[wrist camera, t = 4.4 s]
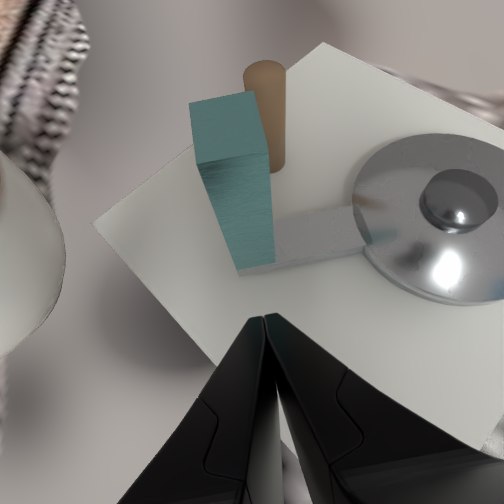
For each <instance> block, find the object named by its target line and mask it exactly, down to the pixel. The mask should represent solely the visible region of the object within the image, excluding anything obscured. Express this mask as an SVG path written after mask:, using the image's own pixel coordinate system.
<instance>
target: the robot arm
mask: <svg viewBox="0 0 504 504" xmlns="http://www.w3.org/2000/svg"><path fill="white" fill-rule="evenodd" d="M277 390H278V393H277ZM278 395H279V399H280V402H281V406H282V409H283V412H284V415H285V418H286V421H287V424H288V428H289V431H290V434H291V437H292V440H293V443H294V446H295V450H296V453H297V456H298V459H299V462H300V465H301V468H302V472H303V475H304V478H305V481H306V484H307V487H308V490H309V494H310V497H311V500H312V503H313V504H504V460H503V459H499V458H496V457H493V456H491V455H488V454H485V453H483V452H481V451H479V450H477V449H475V448H473V447H471V446H469V445H467V444H465V443H464V442H462V441H460V440H458V439H457V438H455V437H454V436H452V435H450V434H449V433H447V432H445V431H444V430H442V429H440V428H439V427H437V426H436V425H434V424H432V423H431V422H429V421H427V420H426V419H424V418H422V417H421V416H419V415H418V414H416V413H414V412H413V411H411V410H409V409H408V408H406V407H405V406H403V405H401V404H400V403H398V402H397V401H395V400H393V399H392V398H390V397H389V396H387V395H386V394H384V393H383V392H381V391H380V390H378V389H377V388H375V387H374V386H373V385H371V384H370V383H368V382H367V381H366V380H364V379H363V378H362V377H360V376H359V375H358V374H356V373H355V372H354V371H352V370H351V369H349V368H348V367H347V366H346V365H345V364H343V363H342V362H341V361H339V360H338V359H337V358H336V357H334V356H333V355H332V354H330V353H329V352H328V351H327V350H325V349H324V348H323V347H321V346H320V345H319V344H318V343H316V342H315V341H314V340H312V339H311V338H310V337H309V336H307V335H306V334H305V333H303V332H302V331H301V330H300V329H298V328H297V327H296V326H294V325H293V324H292V323H291V322H289V321H288V320H287V319H285V318H284V317H283V316H281V315H280V314H279V313H271V314H266V315H264V318H263V316H256V317H250V318H248V320H247V321H246V323H245V324H244V326H243V327H242V329H241V330H240V332H239V334H238V335H237V337H236V338H235V340H234V341H233V343H232V344H231V346H230V348H229V349H228V351H227V352H226V354H225V355H224V357H223V358H222V360H221V362H220V363H219V365H218V366H217V368H216V369H215V371H214V372H213V374H212V375H211V377H210V379H209V380H208V382H207V383H206V385H205V386H204V388H203V389H202V391H201V393H200V394H199V396H198V398H197V399H196V400H195V402H194V403H193V405H192V406H191V408H190V409H189V411H188V412H187V414H186V415H185V417H184V418H183V420H182V421H181V422H180V424H179V426H178V427H177V428H176V430H175V431H174V432H173V434H172V435H171V436H170V437H169V439H168V440H167V441H166V443H165V444H164V445H163V447H162V448H161V449H160V450H159V452H158V453H157V454H156V455H155V457H154V458H153V459H152V461H151V462H150V463H149V464H148V465H147V467H146V468H145V469H144V470H143V472H142V473H141V474H140V475H139V477H138V478H137V479H136V480H135V482H134V483H133V484H132V485H131V487H130V488H129V489H128V490H127V492H126V493H125V494H124V495H123V497H122V498H121V499H120V500H119V502H118V503H117V504H284V497H283V478H282V458H281V439H280V420H279V402H278Z"/></svg>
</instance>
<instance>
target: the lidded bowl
mask: <svg viewBox="0 0 504 504" xmlns="http://www.w3.org/2000/svg"><path fill="white" fill-rule="evenodd" d="M65 261H66V252H65V244H64V238H63V233H62V231H61V228H60V225H59V222H58V220H57V218H56V215H55V213H54V211H53V210H52V208H51V207H50V205H49V203H48V202H47V200H46V199H45V198H44V196H43V195H42V193H41V192H40V190H39V189H38V188H37V187H36V185H35V184H34V183H33V182H32V181H31V180H30V179H29V178H28V176H27V175H26V174H25V173H24V172H23V171H22V170H21V169H20V168H19V167H18V166H16V165H15V164H14V163H13V162H12V161H11V160H10V159H9V158H8V157H7V156H6V155H5V154H4V153H3V152H2V151H0V359H1V358H2V357H4V356H5V355H7V354H8V353H9V352H11V351H12V350H13V349H15V348H16V347H17V346H18V345H20V344H21V343H22V342H23V341H24V340H25V339H26V338H27V337H28V336H29V335H31V334H32V333H33V332H34V331H35V330H36V329H37V328H38V327H39V326H40V325H41V324H42V323H43V322H44V321H45V320H46V318H47V317H48V316H49V314H50V313H51V311H52V310H53V308H54V306H55V304H56V302H57V300H58V298H59V294H60V292H61V288H62V282H63V276H64V271H65Z"/></svg>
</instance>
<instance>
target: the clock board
mask: <svg viewBox="0 0 504 504" xmlns="http://www.w3.org/2000/svg"><path fill="white" fill-rule="evenodd" d="M243 80H244V87H245V92H247V91H252V90H253V91H254V95H255V99H256V102H257V106H258V110H259V114H260V118H261V122H262V126H263V130H264V134H265V138H266V142H267V146H268V150H269V166H270V182H271V198H272V214H273V221H275V220H280V219H285V218H290V217H295V216H301V215H306V214H311V213H316V212H321V211H326V210H331V209H336V208H341V207H346V206H349V201H350V196H351V192H352V189H353V186H354V183H355V181H356V178H357V175H358V174H359V172H360V170H361V168H362V167H363V165H364V164H365V163H366V162H367V160H368V159H369V158H370V157H371V156H373V155H374V154H375V153H376V152H377V151H379V150H380V149H382V148H383V147H385V146H387V145H388V144H390V143H392V142H395V141H397V140H400V139H403V138H406V137H410V136H414V135H421V134H432V133H443V134H455V135H462V136H466V137H471V138H475V139H478V140H481V141H484V142H487V143H490V144H492V145H494V146H497V147H499V148H501V149H503V150H504V130H502V129H500V128H498V127H496V126H494V125H492V124H490V123H488V122H486V121H484V120H482V119H480V118H478V117H476V116H474V115H472V114H470V113H468V112H466V111H463V110H461V109H459V108H457V107H455V106H453V105H451V104H449V103H447V102H445V101H443V100H441V99H439V98H437V97H435V96H433V95H431V94H429V93H427V92H424V91H422V90H420V89H418V88H416V87H414V86H412V85H410V84H408V83H406V82H404V81H402V80H400V79H398V78H396V77H394V76H392V75H390V74H388V73H386V72H383V71H381V70H379V69H377V68H375V67H373V66H371V65H369V64H367V63H365V62H363V61H361V60H359V59H357V58H355V57H353V56H351V55H349V54H347V53H344V52H342V51H340V50H338V49H336V48H334V47H332V46H330V45H328V44H326V43H324V42H323V43H321V44H320V45H319V46H318V47H316V48H315V49H314V50H312V51H311V52H310V53H309V54H308V55H306V56H305V57H304V58H302V59H301V60H300V61H298V62H297V63H296V64H294V65H293V66H292V67H291V68H289V69H288V70H287V71H285V68H284V67H283V66H282V65H281V64H280V63H278V62H275V61H270V60H264V61H258V62H255V63H253V64H251V65H250V66H249V67H248V68H246V70H245V72H244V74H243ZM91 224H92V226H93V227H94V228H95V229H96V230H97V231H98V232H99V233H100V235H101V236H102V237H103V238H104V239H105V240H106V241H107V243H108V244H109V245H110V246H111V247H112V248H113V249H114V251H115V252H116V253H117V254H118V255H119V256H120V257H121V258H122V260H124V262H125V263H126V264H127V265H128V266H129V268H130V269H131V270H132V271H133V272H134V273H135V274H136V276H137V277H138V278H139V279H140V280H141V281H142V282H143V283H144V285H145V286H146V287H147V288H148V289H149V290H150V291H151V292H152V294H153V295H154V296H155V297H156V298H157V299H158V300H159V301H160V303H161V304H162V305H163V306H164V307H165V308H166V310H167V311H168V312H169V313H170V314H171V315H172V316H173V317H174V319H175V320H176V321H177V322H178V323H179V324H180V325H181V327H182V328H183V329H184V330H185V331H186V332H187V333H188V334H189V336H190V337H191V338H192V339H193V340H194V341H195V342H196V344H197V345H198V346H199V347H200V348H201V349H202V350H203V351H204V352H205V354H206V355H207V356H208V357H209V358H210V359H211V361H212V362H213V363H214V364H215V365H216V366H218V365H219V363H220V362H221V360H222V358H223V357H224V355H225V354H226V352H227V351H228V349H229V348H230V346H231V344H232V343H233V341H234V340H235V338H236V337H237V335H238V334H239V332H240V330H241V329H242V327H243V326H244V324H245V323H246V321H247V320H248V318H250V317H256V316H263V318H264V315H266V314H271V313H279V314H280V315H281V316H283V317H284V318H285V319H287V320H288V321H289V322H291V323H292V324H293V325H294V326H296V327H297V328H298V329H300V330H301V331H302V332H303V333H305V334H306V335H307V336H309V337H310V338H311V339H312V340H314V341H315V342H316V343H318V344H319V345H320V346H321V347H323V348H324V349H325V350H327V351H328V352H329V353H330V354H332V355H333V356H334V357H336V358H337V359H338V360H339V361H341V362H342V363H343V364H345V365H346V366H347V367H348V368H349V369H351V370H352V371H354V372H355V373H356V374H358V375H359V376H360V377H362V378H363V379H364V380H366V381H367V382H368V383H370V384H371V385H373V386H374V387H375V388H377V389H378V390H380V391H381V392H383V393H384V394H386V395H387V396H389V397H390V398H392V399H393V400H395V401H397V402H398V403H400V404H401V405H403V406H405V407H406V408H408V409H409V410H411V411H413V412H414V413H416V414H418V415H419V416H421V417H422V418H424V419H426V420H427V421H429V422H431V423H432V424H434V425H436V426H437V427H439V428H440V429H442V430H444V431H445V432H447V433H449V434H450V435H452V436H454V437H455V438H457V439H458V440H460V441H462V442H464V443H465V444H467V445H469V446H471V447H473V448H475V449H477V450H479V451H480V449H481V448H482V446H483V445H484V443H485V442H486V440H487V439H488V437H489V436H490V434H491V433H492V431H493V430H494V428H495V427H496V425H497V424H498V422H499V421H500V419H501V418H502V416H503V414H504V300H503V301H500V302H496V303H493V304H489V305H482V306H451V305H444V304H440V303H435V302H431V301H428V300H425V299H422V298H420V297H417V296H415V295H413V294H410V293H408V292H406V291H404V290H402V289H401V288H399V287H398V286H396V285H394V284H393V283H391V282H390V281H389V280H387V279H386V278H385V277H384V276H382V275H381V274H380V273H379V272H378V271H377V270H376V269H375V268H374V267H373V266H372V265H371V264H370V263H369V262H368V260H367V259H366V258H365V256H364V255H363V254H362V253H360V254H355V255H350V256H345V257H340V258H335V259H329V260H324V261H319V262H314V263H309V264H304V265H299V266H293V267H288V268H283V269H278V270H273V271H268V272H263V273H257V274H252V275H247V276H242V277H239V275H238V273H237V270H236V267H235V265H234V262H233V260H232V257H231V254H230V252H229V249H228V246H227V244H226V241H225V239H224V236H223V233H222V231H221V228H220V225H219V223H218V220H217V218H216V215H215V212H214V210H213V207H212V204H211V202H210V199H209V197H208V194H207V191H206V189H205V186H204V184H203V181H202V178H201V176H200V173H199V170H198V168H197V165H196V159H195V151H194V143H193V144H192V145H191V146H189V147H188V148H187V149H186V150H184V151H183V152H182V153H181V154H179V155H178V156H177V157H176V158H174V159H173V160H172V161H170V162H169V163H168V164H166V165H165V166H164V167H163V168H161V169H160V170H159V171H158V172H156V173H155V174H154V175H152V176H151V177H150V178H149V179H147V180H146V181H145V182H143V183H142V184H141V185H140V186H138V187H137V188H136V189H134V190H133V191H132V192H131V193H129V194H128V195H127V196H125V197H124V198H123V199H122V200H120V201H119V202H118V203H116V204H115V205H114V206H113V207H112V208H110V209H109V210H108V211H106V212H105V213H104V214H102V215H101V216H100V217H99V218H97V219H96V220H95V221H94V222H92V223H91ZM277 393H278V390H277ZM278 402H279V420H280V439H281V440H282V441H283V442H284V443H285V445H286V446H287V447H288V448H289V449H290V450H291V451H292V452H293V454H294V455H295V456H296V457H297V458H298V456H297V453H296V450H295V446H294V443H293V440H292V437H291V434H290V431H289V428H288V424H287V421H286V418H285V415H284V412H283V409H282V406H281V402H280V399H279V395H278Z"/></svg>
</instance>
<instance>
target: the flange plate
mask: <svg viewBox="0 0 504 504" xmlns="http://www.w3.org/2000/svg"><path fill="white" fill-rule="evenodd" d="M189 109H190V117H191V126H192V134H193V141H194V151H195V159H196V165H197V168H198V170H199V173H200V176H201V178H202V181H203V184H204V186H205V189H206V191H207V194H208V197H209V199H210V202H211V204H212V207H213V210H214V212H215V215H216V218H217V220H218V223H219V225H220V228H221V231H222V233H223V236H224V239H225V241H226V244H227V246H228V249H229V252H230V254H231V257H232V260H233V262H234V265H235V267H236V270H237V273H238V275H239V277H242V276H247V275H252V274H257V273H263V272H268V271H273V270H278V269H283V268H288V267H293V266H299V265H304V264H309V263H314V262H319V261H324V260H329V259H335V258H340V257H345V256H350V255H355V254H360V253H362V254H363V255H364V256H365V258H366V259H367V260H368V262H369V263H370V264H371V265H372V266H373V267H374V268H375V269H376V270H377V271H378V272H379V273H380V274H381V275H382V276H384V277H385V278H386V279H387V280H389V281H390V282H391V283H393V284H394V285H396V286H398V287H399V288H401V289H402V290H404V291H406V292H408V293H410V294H413V295H415V296H417V297H420V298H422V299H425V300H428V301H431V302H435V303H440V304H444V305H451V306H482V305H489V304H493V303H496V302H500V301H503V300H504V150H503V149H501V148H499V147H497V146H494V145H492V144H490V143H487V142H484V141H481V140H478V139H475V138H471V137H466V136H462V135H455V134H443V133H432V134H421V135H414V136H410V137H406V138H403V139H400V140H397V141H395V142H392V143H390V144H388V145H387V146H385V147H383V148H382V149H380V150H379V151H377V152H376V153H375V154H374V155H373V156H371V157H370V158H369V159H368V160H367V162H366V163H365V164H364V165H363V167H362V168H361V170H360V172H359V174H358V175H357V178H356V181H355V183H354V186H353V189H352V192H351V196H350V201H349V206H346V207H341V208H336V209H331V210H326V211H321V212H316V213H311V214H306V215H301V216H295V217H290V218H285V219H280V220H275V221H273V214H272V198H271V182H270V166H269V150H268V146H267V142H266V138H265V134H264V130H263V126H262V122H261V118H260V114H259V110H258V106H257V102H256V99H255V95H254V91H253V90H252V91H247V92H242V93H238V94H233V95H228V96H223V97H218V98H213V99H208V100H203V101H198V102H193V103H189Z"/></svg>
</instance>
